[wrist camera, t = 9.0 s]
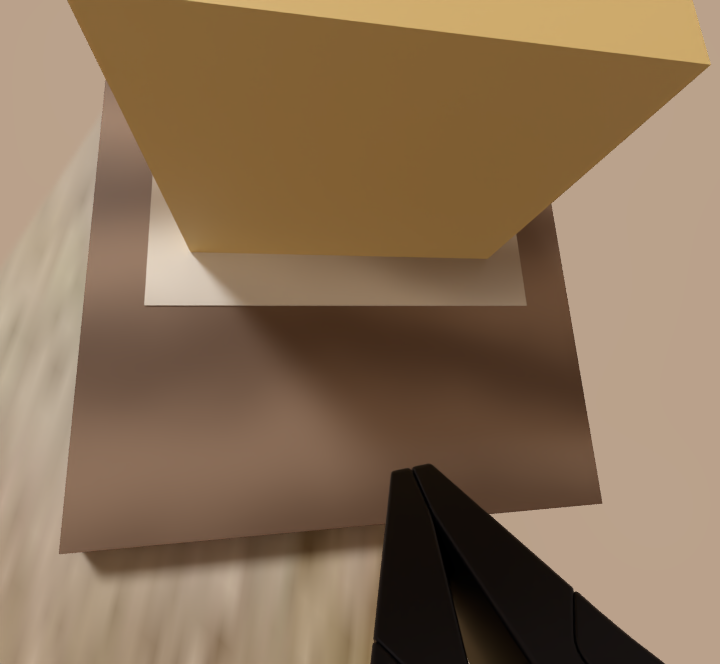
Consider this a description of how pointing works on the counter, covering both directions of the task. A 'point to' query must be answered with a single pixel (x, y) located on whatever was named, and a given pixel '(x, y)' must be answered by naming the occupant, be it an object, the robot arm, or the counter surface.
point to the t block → (382, 112)
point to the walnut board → (307, 378)
